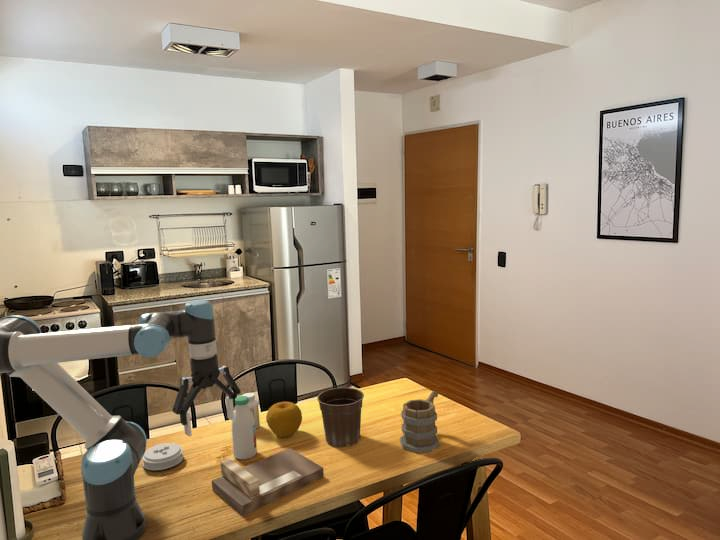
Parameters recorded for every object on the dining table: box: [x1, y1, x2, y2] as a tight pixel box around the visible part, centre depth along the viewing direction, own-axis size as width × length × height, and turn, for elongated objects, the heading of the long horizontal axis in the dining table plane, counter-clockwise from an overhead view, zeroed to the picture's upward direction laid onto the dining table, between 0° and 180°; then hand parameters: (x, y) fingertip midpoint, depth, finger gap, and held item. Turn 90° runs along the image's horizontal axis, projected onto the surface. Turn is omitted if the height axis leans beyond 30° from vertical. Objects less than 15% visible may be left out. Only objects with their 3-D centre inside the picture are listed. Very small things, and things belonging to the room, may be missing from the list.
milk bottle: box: [231, 395, 258, 460], centre depth 178 cm, size 8×8×20 cm
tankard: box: [399, 390, 441, 454], centre depth 184 cm, size 20×13×15 cm, turn 143°
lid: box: [141, 442, 184, 471], centre depth 175 cm, size 13×13×5 cm
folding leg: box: [220, 458, 260, 497], centre depth 155 cm, size 17×3×4 cm, turn 42°
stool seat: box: [211, 447, 325, 517], centre depth 161 cm, size 28×18×3 cm, turn 132°
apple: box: [265, 401, 303, 439], centre depth 192 cm, size 13×13×11 cm
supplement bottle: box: [241, 392, 261, 430], centre depth 199 cm, size 7×7×13 cm
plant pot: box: [317, 387, 365, 448], centre depth 186 cm, size 16×16×16 cm
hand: (210, 426), depth 154 cm, fingers open, 13 cm apart
